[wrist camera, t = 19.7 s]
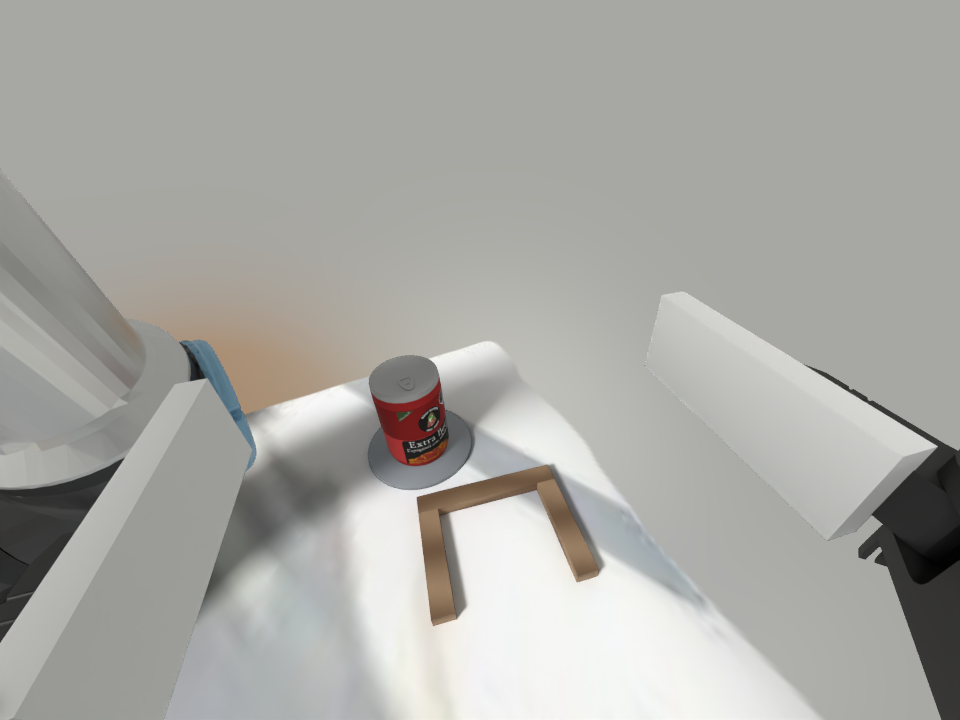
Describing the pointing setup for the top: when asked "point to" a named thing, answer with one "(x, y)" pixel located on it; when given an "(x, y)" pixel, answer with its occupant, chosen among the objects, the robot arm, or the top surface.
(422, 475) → the slate mat
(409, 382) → the canned food
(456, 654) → the top surface
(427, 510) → the walnut cradle
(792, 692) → the top surface
